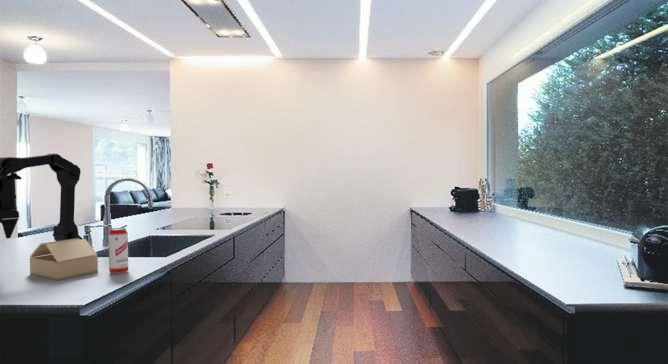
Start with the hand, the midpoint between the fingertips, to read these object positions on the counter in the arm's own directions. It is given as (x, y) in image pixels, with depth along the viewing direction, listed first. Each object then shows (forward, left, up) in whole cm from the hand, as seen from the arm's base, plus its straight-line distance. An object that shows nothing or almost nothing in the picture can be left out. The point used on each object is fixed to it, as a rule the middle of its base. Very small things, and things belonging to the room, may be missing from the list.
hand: (7, 236), depth 154 cm
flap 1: (-12, +9, -5) cm, 15 cm away
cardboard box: (-12, +14, -14) cm, 23 cm away
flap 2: (-12, +19, -5) cm, 23 cm away
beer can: (-22, +31, -14) cm, 40 cm away
